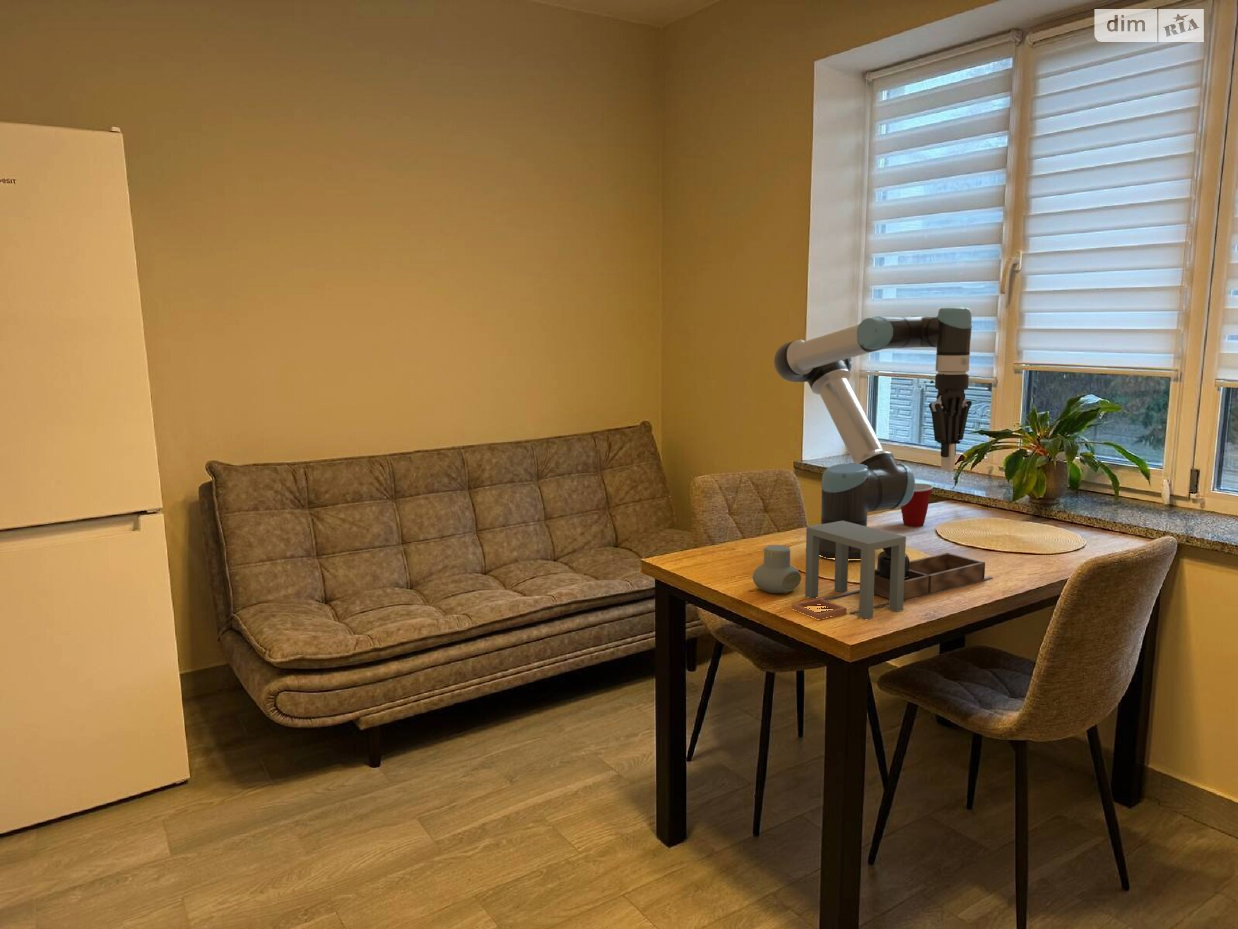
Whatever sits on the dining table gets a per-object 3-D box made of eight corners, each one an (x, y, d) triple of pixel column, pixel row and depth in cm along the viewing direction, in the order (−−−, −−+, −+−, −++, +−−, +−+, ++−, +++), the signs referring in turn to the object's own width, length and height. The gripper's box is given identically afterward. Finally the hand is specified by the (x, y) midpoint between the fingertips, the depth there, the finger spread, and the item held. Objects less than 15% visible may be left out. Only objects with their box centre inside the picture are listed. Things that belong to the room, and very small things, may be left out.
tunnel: (942, 564, 217) (945, 502, 215) (1006, 582, 202) (1010, 515, 199) (805, 596, 194) (806, 527, 191) (866, 619, 179) (868, 544, 176)
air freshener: (776, 581, 206) (777, 540, 204) (805, 589, 200) (806, 546, 198) (747, 591, 198) (747, 549, 197) (776, 599, 192) (777, 555, 191)
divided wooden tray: (946, 568, 212) (947, 552, 212) (984, 579, 204) (985, 562, 203) (860, 589, 198) (861, 572, 197) (897, 601, 189) (898, 583, 188)
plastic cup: (890, 520, 265) (892, 481, 263) (927, 521, 264) (929, 482, 262) (897, 528, 255) (898, 488, 253) (935, 529, 253) (937, 489, 251)
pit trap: (791, 609, 185) (791, 604, 185) (819, 603, 189) (819, 597, 189) (818, 620, 179) (818, 615, 178) (846, 613, 183) (846, 607, 182)
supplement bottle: (907, 599, 191) (909, 546, 189) (875, 596, 193) (877, 544, 191) (908, 590, 197) (910, 539, 195) (876, 587, 200) (878, 537, 198)
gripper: (947, 374, 201) (942, 474, 205) (983, 372, 208) (978, 469, 212) (920, 373, 208) (916, 470, 212) (956, 371, 214) (952, 465, 218)
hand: (947, 469), depth 212 cm, fingers closed
